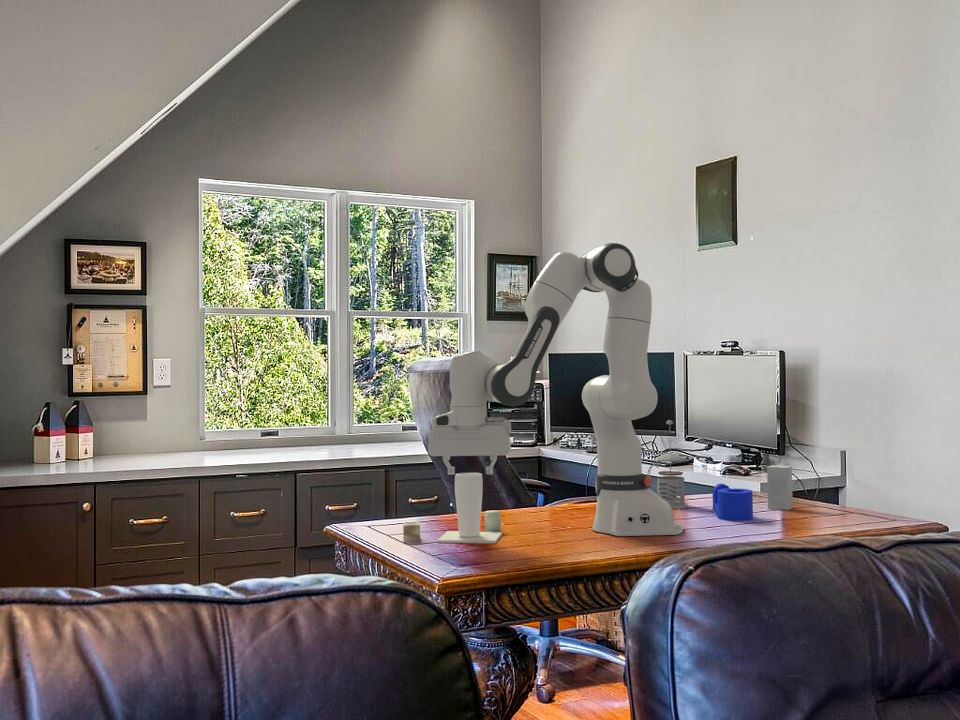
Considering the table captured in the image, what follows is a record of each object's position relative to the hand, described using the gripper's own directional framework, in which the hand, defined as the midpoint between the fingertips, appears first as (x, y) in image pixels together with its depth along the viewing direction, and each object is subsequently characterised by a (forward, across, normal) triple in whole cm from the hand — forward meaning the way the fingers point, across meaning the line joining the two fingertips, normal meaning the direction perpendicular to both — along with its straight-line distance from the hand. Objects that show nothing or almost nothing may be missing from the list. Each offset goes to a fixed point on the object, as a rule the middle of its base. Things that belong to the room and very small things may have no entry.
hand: (470, 474), depth 233 cm
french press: (+17, -49, -55) cm, 75 cm away
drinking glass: (+15, +1, 0) cm, 15 cm away
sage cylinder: (+16, -4, -10) cm, 19 cm away
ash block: (+16, +14, +3) cm, 21 cm away
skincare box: (+17, -80, -51) cm, 96 cm away
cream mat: (+16, 0, 0) cm, 16 cm away
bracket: (+17, -65, -39) cm, 77 cm away
